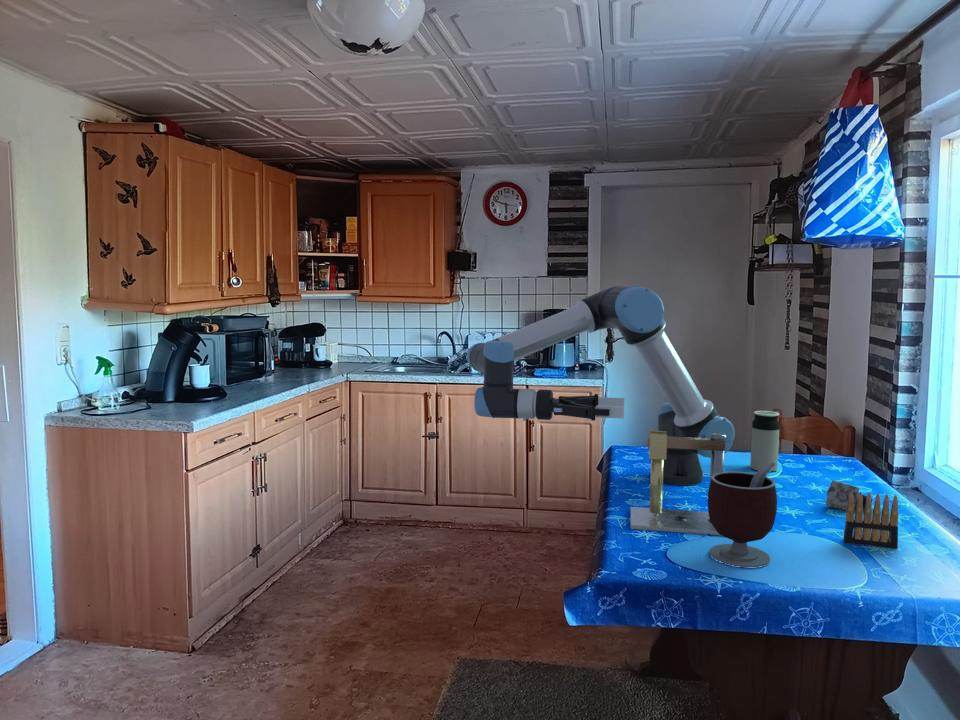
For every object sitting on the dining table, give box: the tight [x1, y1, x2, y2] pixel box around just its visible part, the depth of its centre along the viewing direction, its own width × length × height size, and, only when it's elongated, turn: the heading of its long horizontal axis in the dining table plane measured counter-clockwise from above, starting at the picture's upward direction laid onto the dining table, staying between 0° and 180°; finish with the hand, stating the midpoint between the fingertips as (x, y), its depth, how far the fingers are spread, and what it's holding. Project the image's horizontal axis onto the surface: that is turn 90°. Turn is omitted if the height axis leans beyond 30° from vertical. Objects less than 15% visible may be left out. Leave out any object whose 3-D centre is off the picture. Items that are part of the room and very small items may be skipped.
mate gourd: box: [707, 462, 778, 567], centre depth 154 cm, size 16×14×20 cm
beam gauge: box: [630, 433, 726, 536], centre depth 174 cm, size 26×14×22 cm, turn 78°
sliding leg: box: [648, 430, 667, 516], centre depth 176 cm, size 4×6×21 cm
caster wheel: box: [825, 480, 874, 512], centre depth 189 cm, size 7×11×10 cm
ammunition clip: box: [842, 491, 899, 550], centre depth 161 cm, size 11×2×12 cm, turn 72°
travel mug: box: [749, 410, 780, 472], centre depth 225 cm, size 8×8×18 cm
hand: (624, 407), depth 176 cm, fingers open, 12 cm apart
